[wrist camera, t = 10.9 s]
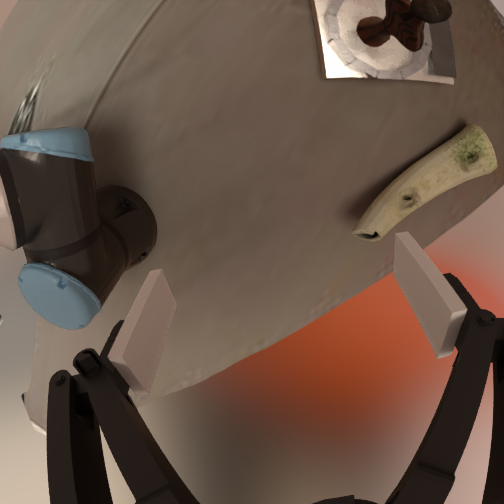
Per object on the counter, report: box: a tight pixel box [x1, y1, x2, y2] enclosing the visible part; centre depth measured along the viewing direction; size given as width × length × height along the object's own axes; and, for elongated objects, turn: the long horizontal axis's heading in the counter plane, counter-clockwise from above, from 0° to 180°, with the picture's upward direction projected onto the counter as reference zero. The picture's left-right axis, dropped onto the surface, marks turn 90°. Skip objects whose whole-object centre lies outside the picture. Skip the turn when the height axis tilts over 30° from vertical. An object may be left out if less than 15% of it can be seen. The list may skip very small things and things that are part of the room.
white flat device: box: [309, 0, 456, 84], centre depth 30 cm, size 20×14×6 cm
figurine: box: [356, 0, 452, 52], centre depth 22 cm, size 7×5×18 cm
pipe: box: [351, 123, 497, 242], centre depth 39 cm, size 28×8×10 cm, turn 131°
